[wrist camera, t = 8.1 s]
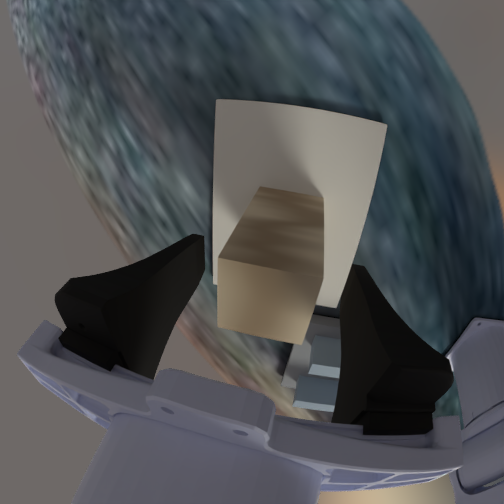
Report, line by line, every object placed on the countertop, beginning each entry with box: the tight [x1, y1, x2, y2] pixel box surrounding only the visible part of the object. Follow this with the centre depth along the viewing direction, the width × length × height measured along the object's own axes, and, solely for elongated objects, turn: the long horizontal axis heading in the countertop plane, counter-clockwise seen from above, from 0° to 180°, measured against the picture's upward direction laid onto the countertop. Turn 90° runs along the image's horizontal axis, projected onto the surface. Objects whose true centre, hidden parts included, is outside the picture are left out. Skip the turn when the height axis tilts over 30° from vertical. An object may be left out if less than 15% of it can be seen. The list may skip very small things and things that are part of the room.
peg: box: [217, 186, 324, 345], centre depth 15 cm, size 4×4×8 cm
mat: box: [213, 99, 387, 308], centre depth 18 cm, size 10×14×1 cm
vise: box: [281, 314, 341, 412], centre depth 23 cm, size 9×11×4 cm
